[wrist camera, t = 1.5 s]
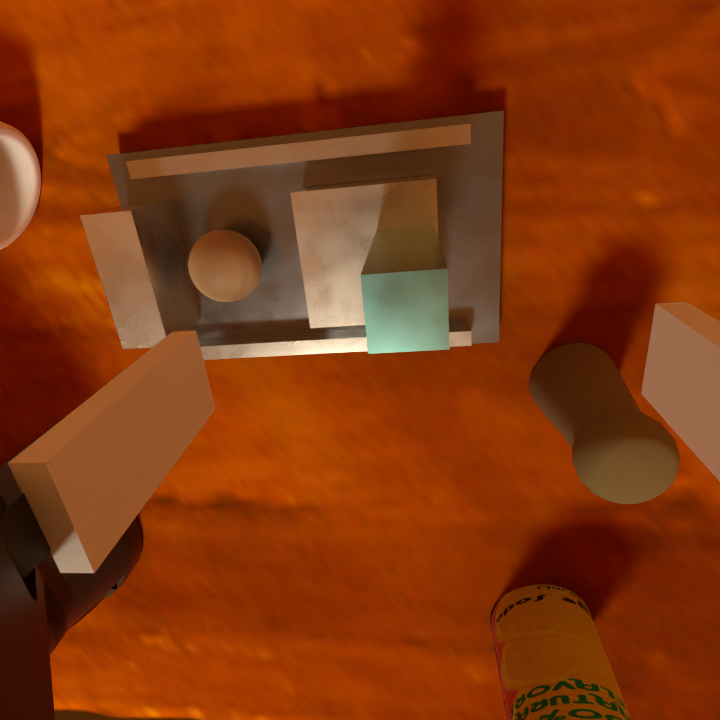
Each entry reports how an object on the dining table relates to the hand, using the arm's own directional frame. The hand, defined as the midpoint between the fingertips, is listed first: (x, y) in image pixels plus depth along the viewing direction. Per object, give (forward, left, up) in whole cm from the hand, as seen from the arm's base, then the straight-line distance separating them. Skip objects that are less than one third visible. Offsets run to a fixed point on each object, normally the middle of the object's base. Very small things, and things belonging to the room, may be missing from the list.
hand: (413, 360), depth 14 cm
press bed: (-6, 0, -19) cm, 20 cm away
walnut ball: (-11, 0, -16) cm, 19 cm away
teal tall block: (-2, 0, -18) cm, 18 cm away
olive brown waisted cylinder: (+11, -11, -20) cm, 25 cm away
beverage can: (+10, -36, -20) cm, 42 cm away
